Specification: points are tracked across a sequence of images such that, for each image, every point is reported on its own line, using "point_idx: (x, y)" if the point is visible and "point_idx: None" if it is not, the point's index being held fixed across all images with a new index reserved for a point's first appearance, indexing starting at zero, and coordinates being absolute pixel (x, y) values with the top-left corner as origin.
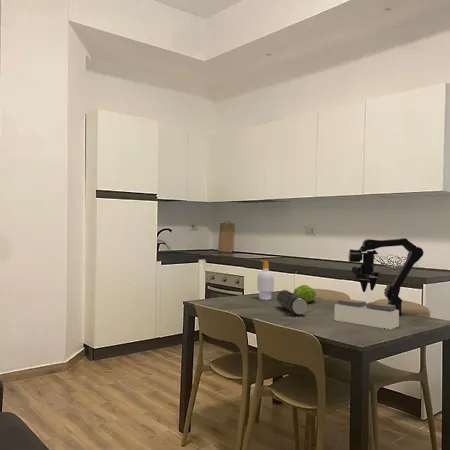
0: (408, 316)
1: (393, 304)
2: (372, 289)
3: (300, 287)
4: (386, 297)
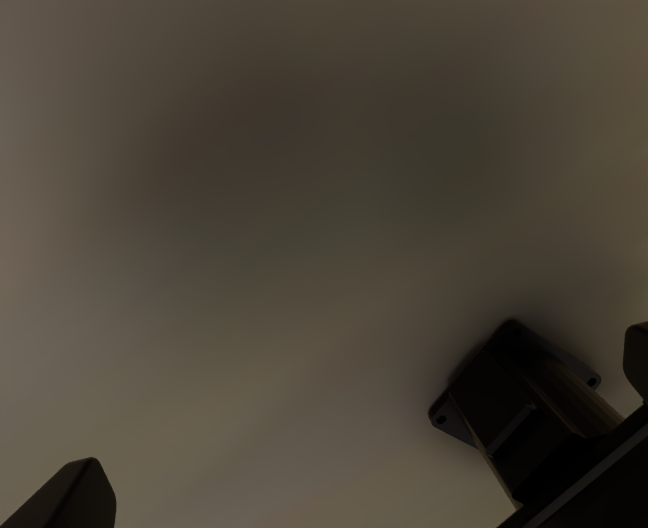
0: (498, 509)
1: (515, 507)
2: (645, 389)
3: None
4: (593, 486)
